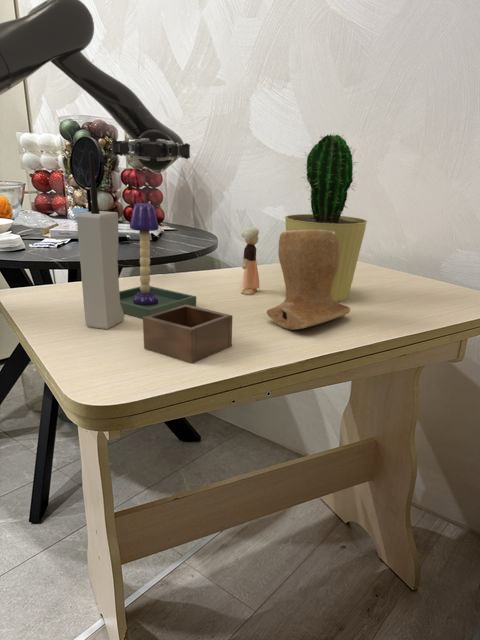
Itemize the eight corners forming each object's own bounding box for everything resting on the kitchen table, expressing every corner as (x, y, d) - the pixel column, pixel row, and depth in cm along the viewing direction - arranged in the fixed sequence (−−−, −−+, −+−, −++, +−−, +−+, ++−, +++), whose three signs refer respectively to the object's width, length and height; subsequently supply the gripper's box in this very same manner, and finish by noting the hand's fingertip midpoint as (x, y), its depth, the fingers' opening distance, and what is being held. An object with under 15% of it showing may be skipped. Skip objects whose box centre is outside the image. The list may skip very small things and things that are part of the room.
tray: (97, 306, 89) (97, 296, 89) (146, 294, 98) (145, 284, 98) (149, 320, 83) (149, 309, 82) (196, 306, 92) (196, 296, 91)
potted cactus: (325, 282, 113) (337, 133, 103) (375, 299, 101) (395, 132, 90) (265, 289, 105) (272, 128, 95) (312, 309, 93) (326, 127, 83)
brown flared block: (302, 304, 96) (308, 221, 90) (358, 318, 88) (368, 229, 83) (246, 321, 85) (249, 227, 80) (305, 338, 78) (312, 236, 72)
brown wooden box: (143, 348, 71) (142, 317, 70) (185, 333, 78) (185, 304, 76) (191, 363, 67) (191, 330, 65) (232, 345, 74) (232, 315, 72)
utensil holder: (124, 320, 82) (115, 152, 74) (107, 330, 78) (95, 151, 69) (103, 318, 83) (91, 151, 74) (85, 327, 79) (70, 150, 70)
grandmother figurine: (258, 296, 100) (261, 229, 96) (238, 295, 100) (240, 228, 96) (259, 287, 107) (262, 224, 103) (241, 286, 107) (242, 223, 103)
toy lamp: (162, 299, 93) (159, 202, 87) (159, 306, 89) (156, 205, 83) (135, 298, 93) (129, 202, 87) (131, 306, 88) (125, 204, 82)
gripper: (120, 128, 105) (105, 123, 90) (191, 132, 106) (189, 128, 91) (121, 168, 107) (108, 169, 92) (191, 171, 109) (189, 173, 94)
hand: (148, 149), depth 92 cm, fingers open, 8 cm apart
